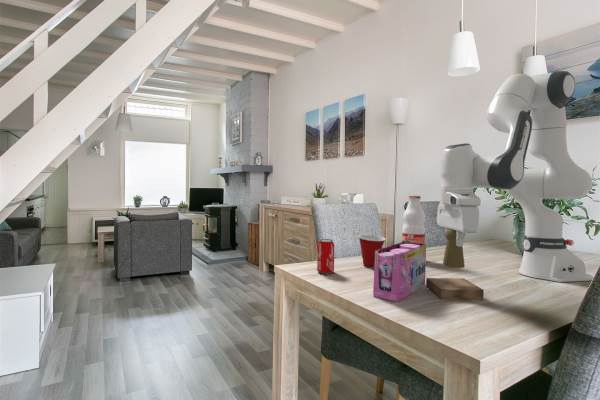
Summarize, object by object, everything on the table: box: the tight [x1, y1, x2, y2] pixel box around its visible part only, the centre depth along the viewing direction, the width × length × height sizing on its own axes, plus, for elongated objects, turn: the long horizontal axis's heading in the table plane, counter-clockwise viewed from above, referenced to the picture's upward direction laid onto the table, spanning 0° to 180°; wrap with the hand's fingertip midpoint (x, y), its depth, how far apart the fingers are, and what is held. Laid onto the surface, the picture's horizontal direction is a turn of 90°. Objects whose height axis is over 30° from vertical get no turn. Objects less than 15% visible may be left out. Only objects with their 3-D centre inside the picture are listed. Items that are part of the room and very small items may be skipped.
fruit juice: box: [401, 195, 426, 244], centre depth 149 cm, size 9×9×28 cm
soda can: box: [316, 238, 335, 275], centre depth 127 cm, size 6×6×12 cm
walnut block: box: [425, 277, 484, 301], centre depth 104 cm, size 12×12×3 cm
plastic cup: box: [357, 234, 387, 269], centre depth 138 cm, size 11×11×12 cm
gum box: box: [372, 241, 427, 303], centre depth 106 cm, size 24×8×14 cm, turn 141°
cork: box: [442, 229, 465, 269], centre depth 103 cm, size 6×6×11 cm
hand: (454, 244), depth 103 cm, fingers closed on cork, 4 cm apart
